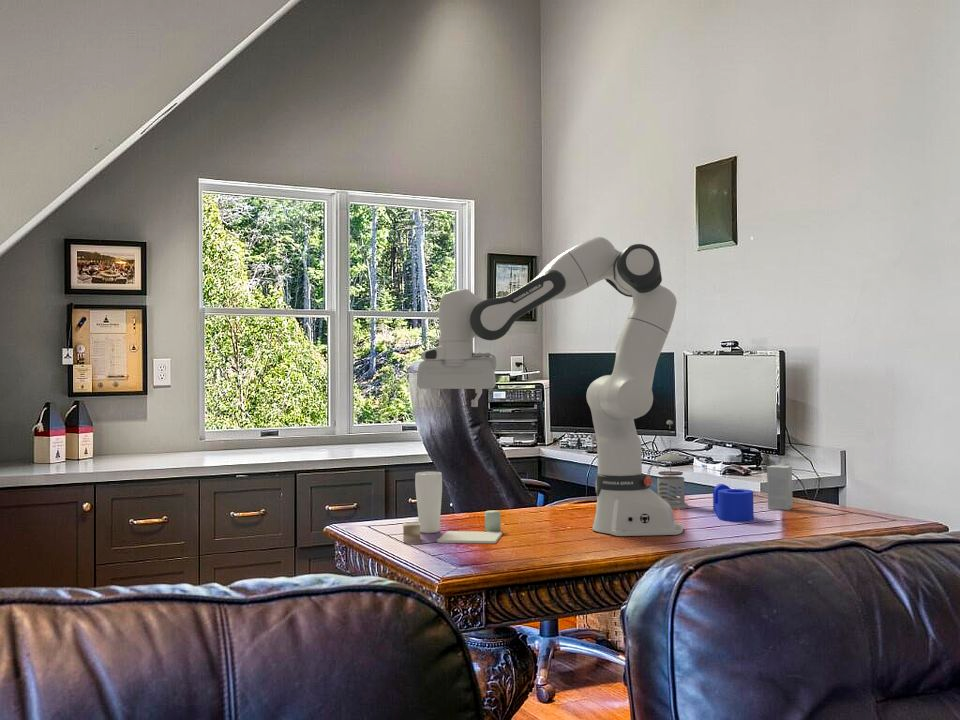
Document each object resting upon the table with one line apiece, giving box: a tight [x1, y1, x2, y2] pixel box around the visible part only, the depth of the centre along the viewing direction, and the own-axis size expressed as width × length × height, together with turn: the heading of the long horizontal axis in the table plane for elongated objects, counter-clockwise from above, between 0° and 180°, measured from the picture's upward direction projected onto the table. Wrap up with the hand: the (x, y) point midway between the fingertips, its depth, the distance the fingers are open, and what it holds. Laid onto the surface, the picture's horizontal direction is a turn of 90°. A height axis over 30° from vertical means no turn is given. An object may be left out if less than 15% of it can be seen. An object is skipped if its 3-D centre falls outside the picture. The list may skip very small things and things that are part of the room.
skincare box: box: [766, 464, 794, 511], centre depth 270 cm, size 6×4×12 cm
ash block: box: [402, 521, 421, 543], centre depth 232 cm, size 4×4×4 cm
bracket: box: [712, 483, 755, 523], centre depth 260 cm, size 20×9×8 cm, turn 0°
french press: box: [647, 419, 689, 509], centre depth 279 cm, size 10×12×25 cm
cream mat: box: [437, 530, 503, 544], centre depth 233 cm, size 14×12×1 cm
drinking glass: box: [414, 471, 443, 534], centre depth 243 cm, size 7×7×15 cm
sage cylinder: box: [484, 510, 502, 532], centre depth 242 cm, size 4×4×5 cm
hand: (456, 406), depth 245 cm, fingers open, 8 cm apart
